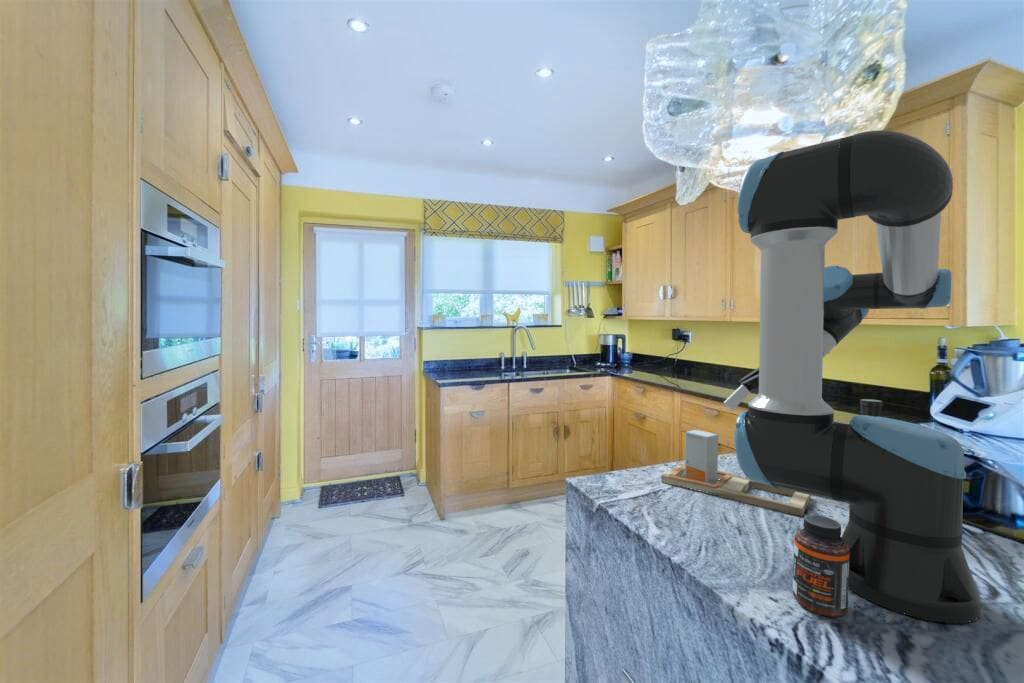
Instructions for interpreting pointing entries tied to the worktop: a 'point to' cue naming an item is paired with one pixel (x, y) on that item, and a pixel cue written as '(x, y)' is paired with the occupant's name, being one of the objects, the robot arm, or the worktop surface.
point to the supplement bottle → (821, 567)
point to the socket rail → (739, 490)
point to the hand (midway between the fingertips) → (741, 411)
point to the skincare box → (701, 456)
